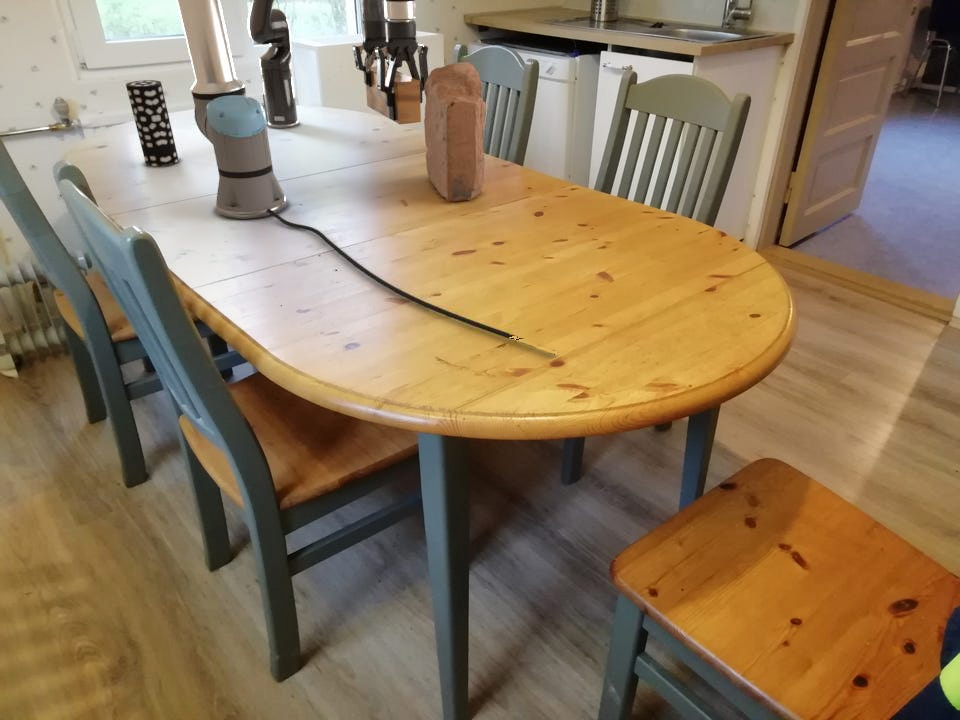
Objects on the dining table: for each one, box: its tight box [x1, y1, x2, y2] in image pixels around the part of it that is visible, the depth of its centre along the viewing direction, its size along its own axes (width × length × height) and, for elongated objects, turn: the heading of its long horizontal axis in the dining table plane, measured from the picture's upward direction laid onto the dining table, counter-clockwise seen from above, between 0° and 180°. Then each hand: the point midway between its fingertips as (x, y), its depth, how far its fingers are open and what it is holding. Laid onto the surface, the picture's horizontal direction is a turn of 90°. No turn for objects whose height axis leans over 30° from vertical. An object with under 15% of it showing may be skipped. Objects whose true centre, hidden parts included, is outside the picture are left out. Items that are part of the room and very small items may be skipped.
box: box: [365, 65, 422, 125], centre depth 184 cm, size 23×6×10 cm, turn 29°
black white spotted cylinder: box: [125, 79, 179, 167], centre depth 181 cm, size 8×8×20 cm
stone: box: [423, 61, 487, 202], centre depth 163 cm, size 22×11×28 cm, turn 18°
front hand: (404, 117), depth 180 cm, fingers closed on box, 6 cm apart
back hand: (380, 85), depth 189 cm, fingers closed on box, 6 cm apart
